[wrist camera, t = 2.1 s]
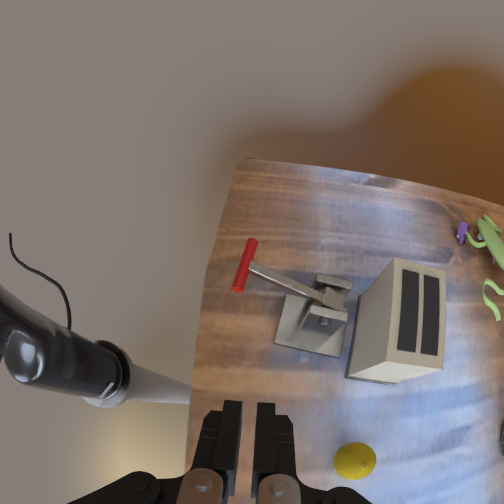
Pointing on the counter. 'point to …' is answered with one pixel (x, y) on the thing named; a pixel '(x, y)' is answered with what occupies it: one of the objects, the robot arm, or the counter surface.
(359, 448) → the lemon
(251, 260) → the switch lever
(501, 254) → the figurine
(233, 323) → the counter surface
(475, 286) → the counter surface
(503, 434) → the pouch
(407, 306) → the toaster
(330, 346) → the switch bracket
